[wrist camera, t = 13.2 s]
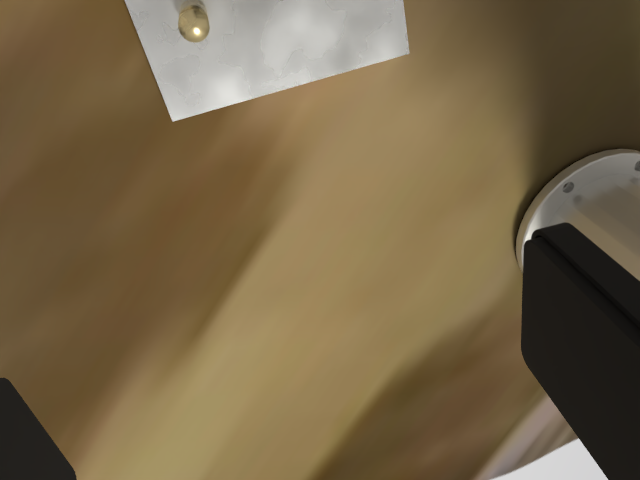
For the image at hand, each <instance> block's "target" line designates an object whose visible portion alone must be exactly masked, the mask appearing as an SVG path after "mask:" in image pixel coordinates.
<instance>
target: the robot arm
mask: <svg viewBox="0 0 640 480" xmlns="http://www.w3.org/2000/svg"><path fill="white" fill-rule="evenodd" d="M516 255H517V260H518V264H519V266H520V268H521V270H522V273H523V291H522V330H521V351H522V355H523V358H524V360H525V362H526V364H527V366H528V368H529V369H530V370H531V372H532V373H533V375H534V376H535V377H536V379H537V380H538V382H539V383H540V384H541V386H542V387H543V389H544V390H545V391H546V393H547V394H548V396H549V397H550V398H551V400H552V401H553V403H554V404H555V405H556V407H557V408H558V410H559V411H560V412H561V414H562V415H563V417H564V418H565V419H566V421H567V422H568V424H569V425H570V426H571V428H572V429H573V431H574V432H575V433H576V435H577V436H578V438H579V439H580V440H581V442H582V443H583V445H584V446H585V447H586V448H587V450H588V451H589V453H590V454H591V456H592V457H593V459H594V460H595V461H596V463H597V464H598V466H599V467H600V468H601V470H602V471H603V473H604V474H605V475H606V477H607V478H608V480H640V152H639V151H636V150H630V149H614V150H606V151H602V152H599V153H596V154H592V155H590V156H587V157H585V158H583V159H581V160H579V161H577V162H575V163H573V164H572V165H570V166H569V167H567V168H566V169H564V170H563V171H561V172H560V173H559V174H558V175H557V176H555V177H554V178H553V179H552V180H551V181H550V182H549V183H548V184H546V186H545V187H544V188H543V189H542V190H541V191H540V193H539V194H538V195H537V196H536V197H535V199H534V200H533V202H532V203H531V205H530V206H529V208H528V210H527V211H526V213H525V215H524V218H523V220H522V222H521V224H520V227H519V231H518V235H517V239H516ZM0 480H76V475H75V471H74V470H73V468H72V466H71V465H70V464H69V462H68V461H67V460H66V458H65V457H64V455H63V454H62V453H61V451H60V450H59V448H58V447H57V446H56V444H55V443H54V442H53V440H52V439H51V437H50V436H49V435H48V433H47V432H46V431H45V429H44V428H43V426H42V425H41V424H40V422H39V421H38V419H37V418H36V417H35V415H34V414H33V413H32V411H31V410H30V408H29V407H28V406H27V404H26V403H25V402H24V400H23V399H22V397H21V396H20V395H19V393H18V392H17V390H16V389H15V388H14V386H13V385H12V384H11V382H10V381H9V380H8V379H6V378H0Z"/></svg>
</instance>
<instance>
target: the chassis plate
mask: <svg viewBox="0 0 640 480" xmlns="http://www.w3.org/2000/svg"><path fill="white" fill-rule="evenodd" d="M125 3H126V5H127V8H128V10H129V13H130V15H131V18H132V20H133V23H134V25H135V28H136V30H137V33H138V35H139V38H140V40H141V43H142V46H143V48H144V51H145V53H146V56H147V58H148V61H149V63H150V66H151V68H152V71H153V73H154V76H155V78H156V81H157V83H158V86H159V88H160V91H161V93H162V96H163V99H164V101H165V104H166V106H167V109H168V111H169V114H170V116H171V119H172V121H176V120H180V119H183V118H187V117H190V116H194V115H197V114H201V113H204V112H208V111H211V110H215V109H218V108H222V107H225V106H229V105H232V104H236V103H239V102H243V101H246V100H250V99H253V98H257V97H260V96H263V95H267V94H270V93H274V92H277V91H281V90H284V89H288V88H291V87H295V86H298V85H302V84H305V83H309V82H312V81H316V80H319V79H323V78H326V77H330V76H333V75H337V74H340V73H343V72H347V71H350V70H354V69H357V68H361V67H364V66H368V65H371V64H375V63H378V62H382V61H385V60H389V59H392V58H396V57H399V56H403V55H406V54H410V53H409V45H408V37H407V29H406V20H405V12H404V4H403V0H125Z"/></svg>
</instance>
